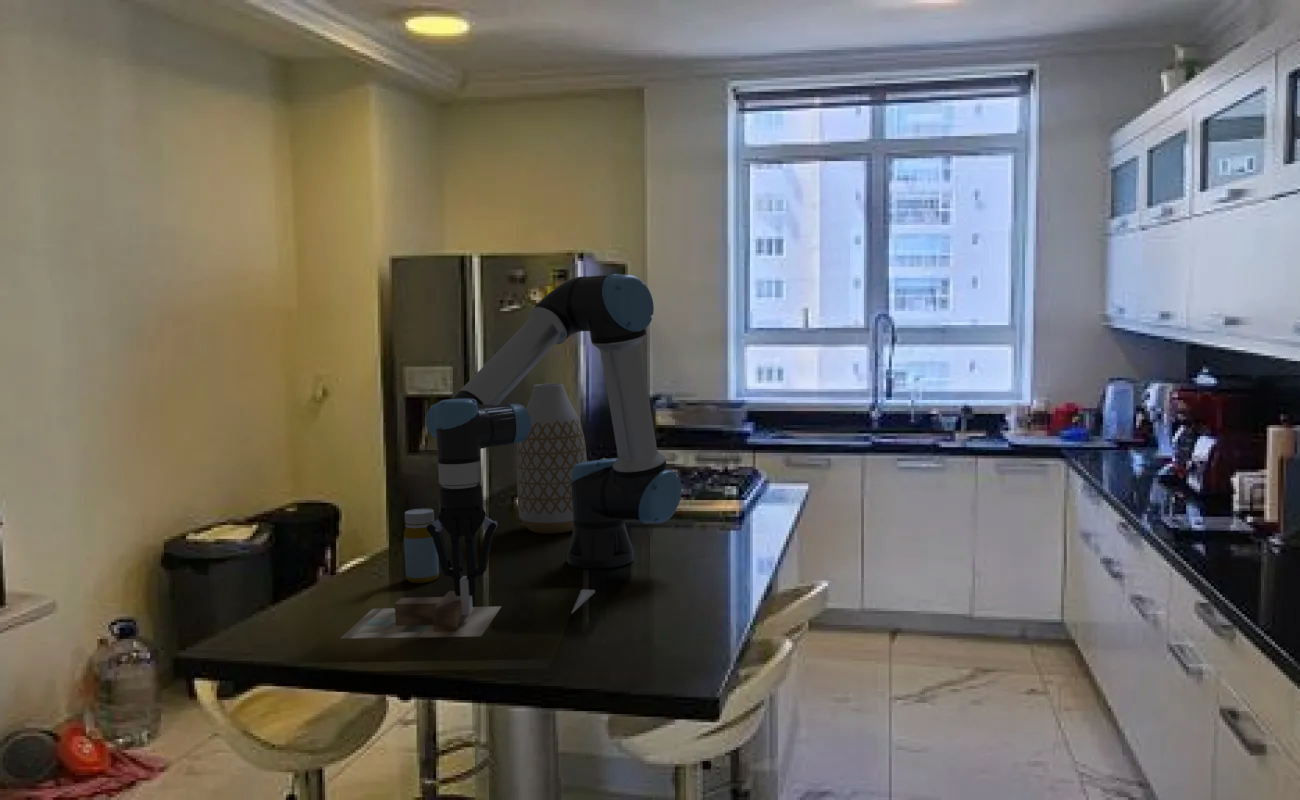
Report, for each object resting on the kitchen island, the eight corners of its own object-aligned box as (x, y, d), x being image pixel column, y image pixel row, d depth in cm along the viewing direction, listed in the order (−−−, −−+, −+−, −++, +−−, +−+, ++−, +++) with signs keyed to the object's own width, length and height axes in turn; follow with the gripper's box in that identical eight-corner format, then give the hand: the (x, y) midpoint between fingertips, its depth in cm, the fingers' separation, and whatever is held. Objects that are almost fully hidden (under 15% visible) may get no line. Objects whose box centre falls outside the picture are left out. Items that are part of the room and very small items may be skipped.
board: (501, 612, 199) (501, 606, 199) (481, 642, 181) (481, 636, 181) (372, 614, 201) (372, 608, 201) (340, 645, 183) (339, 638, 183)
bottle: (431, 584, 222) (427, 514, 221) (400, 583, 223) (397, 514, 222) (444, 575, 229) (440, 508, 227) (414, 575, 230) (410, 508, 229)
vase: (529, 521, 284) (522, 382, 281) (596, 521, 281) (590, 381, 278) (510, 537, 266) (503, 388, 262) (582, 537, 263) (576, 386, 260)
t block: (471, 611, 197) (470, 590, 196) (456, 631, 185) (455, 609, 184) (408, 612, 197) (407, 591, 197) (389, 632, 185) (388, 610, 185)
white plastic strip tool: (546, 615, 198) (546, 609, 198) (572, 593, 213) (571, 588, 213) (571, 615, 197) (571, 610, 197) (595, 594, 211) (595, 588, 211)
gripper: (500, 480, 192) (506, 606, 194) (430, 482, 192) (437, 607, 194) (492, 487, 184) (498, 618, 186) (419, 489, 185) (426, 619, 187)
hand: (467, 612), depth 190 cm, fingers closed
